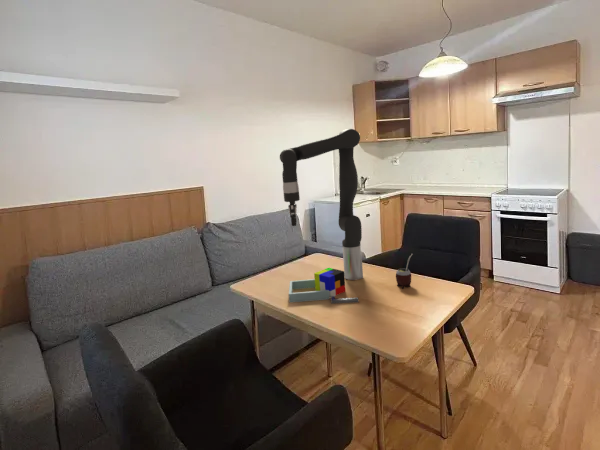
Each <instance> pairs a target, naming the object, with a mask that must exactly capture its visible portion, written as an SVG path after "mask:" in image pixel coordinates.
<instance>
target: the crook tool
mask: <svg viewBox="0 0 600 450" xmlns="http://www.w3.org/2000/svg"><path fill="white" fill-rule="evenodd" d="M359 300H360V299H359V297H345V298H344V297H343V298H342V297H341V298H336V296H331V298H330V303H331V304H351V303H353V304H355V303H356V304H357V303H359Z"/></svg>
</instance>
